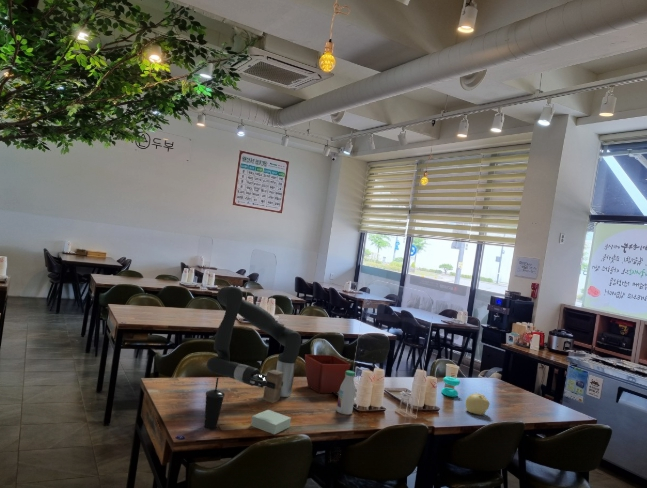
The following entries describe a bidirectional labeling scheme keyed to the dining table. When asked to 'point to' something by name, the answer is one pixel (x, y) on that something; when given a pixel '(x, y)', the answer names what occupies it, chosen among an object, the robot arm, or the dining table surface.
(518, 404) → the dining table surface
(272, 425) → the base slab
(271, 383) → the robot arm
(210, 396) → the drinking cup
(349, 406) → the milk bottle
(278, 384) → the walnut block
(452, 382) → the donuts
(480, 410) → the pale yellow round lump
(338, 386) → the plant pot
